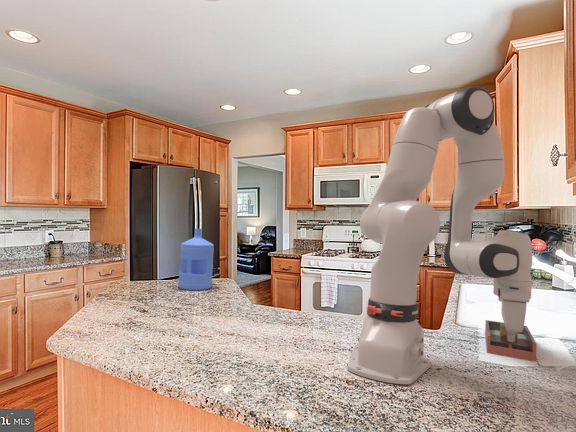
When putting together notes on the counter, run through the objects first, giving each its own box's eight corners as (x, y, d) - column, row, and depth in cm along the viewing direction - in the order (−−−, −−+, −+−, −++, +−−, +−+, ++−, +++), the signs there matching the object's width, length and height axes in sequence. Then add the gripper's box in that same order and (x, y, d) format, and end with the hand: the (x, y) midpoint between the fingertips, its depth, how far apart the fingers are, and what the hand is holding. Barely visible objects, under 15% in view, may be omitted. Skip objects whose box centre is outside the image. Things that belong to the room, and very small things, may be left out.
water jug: (189, 283, 182) (192, 228, 182) (217, 286, 177) (220, 229, 178) (171, 288, 167) (174, 228, 167) (201, 291, 162) (205, 229, 163)
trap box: (536, 361, 92) (536, 343, 92) (486, 352, 97) (487, 335, 97) (526, 340, 110) (526, 325, 110) (485, 334, 115) (485, 320, 115)
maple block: (517, 343, 100) (517, 328, 100) (500, 340, 102) (501, 326, 102) (515, 339, 104) (516, 325, 104) (499, 337, 105) (500, 323, 106)
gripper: (496, 283, 109) (495, 329, 109) (500, 293, 91) (499, 348, 91) (521, 286, 107) (520, 333, 106) (530, 296, 88) (529, 353, 88)
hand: (510, 340), depth 98 cm, fingers closed
